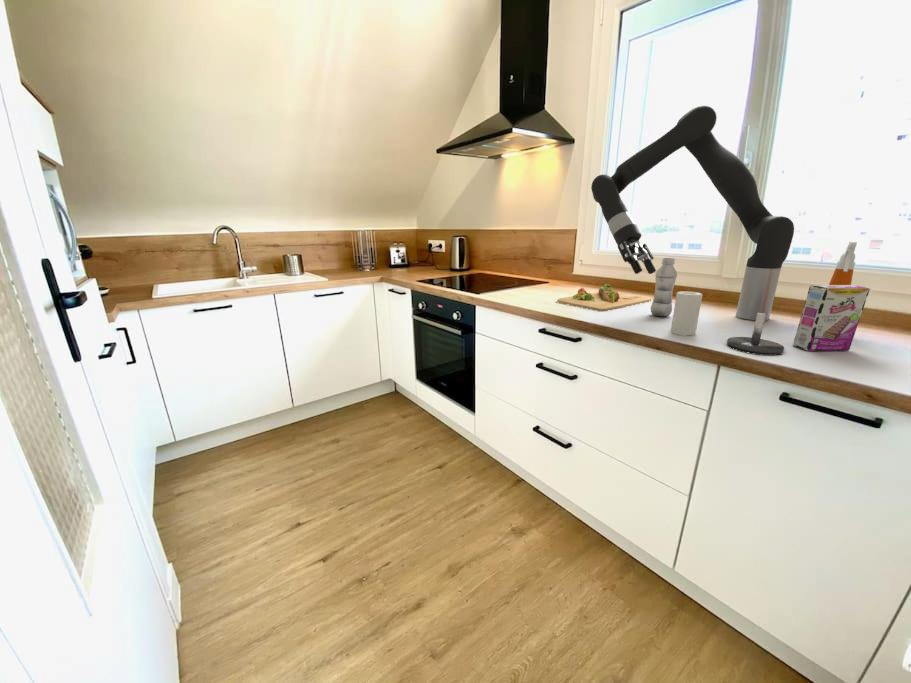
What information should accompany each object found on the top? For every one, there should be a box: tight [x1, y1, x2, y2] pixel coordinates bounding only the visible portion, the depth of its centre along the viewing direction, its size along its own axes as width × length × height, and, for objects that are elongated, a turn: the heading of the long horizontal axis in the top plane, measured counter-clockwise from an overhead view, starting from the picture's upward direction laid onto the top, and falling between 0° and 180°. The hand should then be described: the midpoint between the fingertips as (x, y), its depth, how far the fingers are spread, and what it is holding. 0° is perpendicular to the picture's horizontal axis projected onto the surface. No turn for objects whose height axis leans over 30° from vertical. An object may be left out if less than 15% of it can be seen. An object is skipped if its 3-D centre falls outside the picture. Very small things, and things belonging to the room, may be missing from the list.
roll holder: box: [726, 313, 785, 356], centre depth 100 cm, size 12×12×9 cm
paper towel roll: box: [670, 290, 703, 336], centre depth 113 cm, size 6×6×12 cm
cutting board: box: [556, 283, 652, 312], centre depth 160 cm, size 35×23×8 cm
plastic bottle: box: [650, 257, 678, 317], centre depth 133 cm, size 6×7×20 cm
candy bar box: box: [792, 284, 871, 352], centre depth 97 cm, size 11×5×16 cm, turn 92°
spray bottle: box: [828, 241, 857, 285], centre depth 108 cm, size 7×11×26 cm, turn 137°
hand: (646, 272), depth 121 cm, fingers open, 8 cm apart
